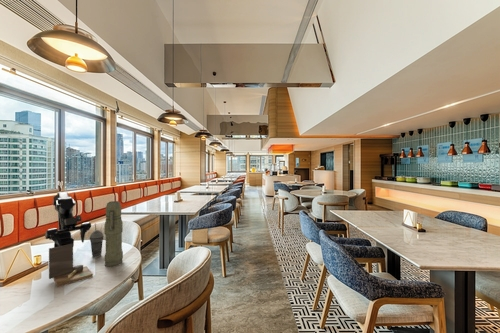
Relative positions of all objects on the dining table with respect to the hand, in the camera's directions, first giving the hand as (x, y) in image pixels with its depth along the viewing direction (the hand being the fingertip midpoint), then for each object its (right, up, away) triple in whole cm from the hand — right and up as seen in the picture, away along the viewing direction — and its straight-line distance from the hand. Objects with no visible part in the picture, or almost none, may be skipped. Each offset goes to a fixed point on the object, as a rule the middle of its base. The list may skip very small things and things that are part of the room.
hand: (72, 244), depth 118 cm
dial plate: (+5, -14, -6) cm, 16 cm away
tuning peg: (+3, -12, -7) cm, 15 cm away
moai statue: (+15, -14, +10) cm, 23 cm away
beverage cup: (-2, -15, +22) cm, 26 cm away
